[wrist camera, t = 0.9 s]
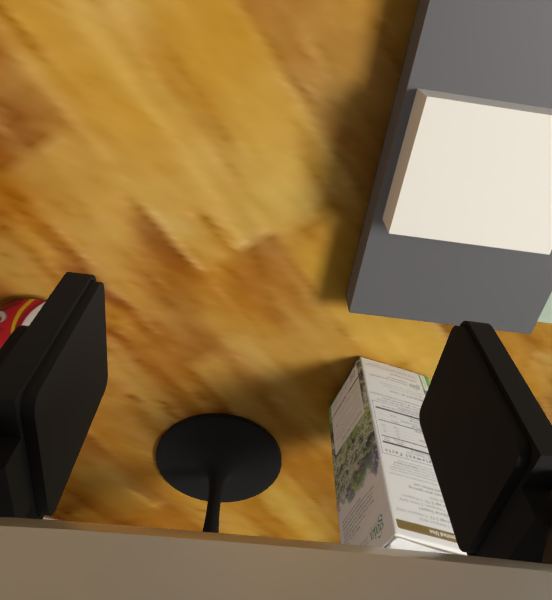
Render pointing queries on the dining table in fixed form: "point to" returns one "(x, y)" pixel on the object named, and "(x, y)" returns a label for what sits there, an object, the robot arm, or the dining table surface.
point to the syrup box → (386, 463)
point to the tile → (474, 173)
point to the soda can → (17, 316)
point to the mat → (547, 311)
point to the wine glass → (218, 460)
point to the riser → (415, 74)
